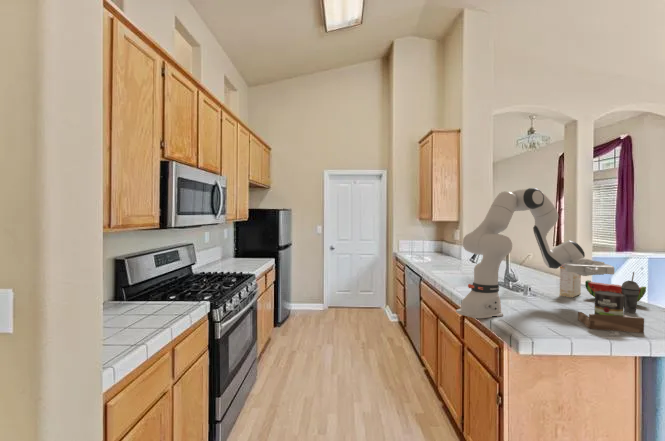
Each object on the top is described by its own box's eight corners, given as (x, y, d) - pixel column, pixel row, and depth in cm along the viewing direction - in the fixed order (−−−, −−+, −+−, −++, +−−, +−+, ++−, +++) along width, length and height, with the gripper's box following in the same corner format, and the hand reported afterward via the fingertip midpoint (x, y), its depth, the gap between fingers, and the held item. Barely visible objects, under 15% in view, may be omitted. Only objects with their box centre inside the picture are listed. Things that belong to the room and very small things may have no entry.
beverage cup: (619, 309, 186) (620, 270, 186) (637, 311, 183) (638, 271, 182) (621, 312, 180) (622, 272, 180) (640, 314, 176) (641, 273, 176)
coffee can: (621, 330, 153) (621, 297, 152) (591, 325, 160) (592, 293, 160) (625, 325, 160) (626, 293, 159) (596, 320, 167) (597, 289, 167)
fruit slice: (584, 298, 210) (585, 281, 209) (587, 296, 214) (587, 279, 214) (644, 307, 191) (645, 288, 191) (645, 304, 195) (646, 286, 195)
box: (578, 319, 168) (578, 306, 168) (626, 323, 163) (627, 309, 163) (590, 328, 155) (590, 314, 155) (643, 333, 150) (644, 318, 150)
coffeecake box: (567, 292, 226) (568, 260, 226) (581, 294, 221) (581, 262, 220) (558, 295, 217) (559, 262, 216) (572, 297, 211) (573, 264, 211)
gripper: (560, 259, 190) (570, 263, 176) (606, 262, 184) (620, 265, 171) (560, 271, 190) (569, 276, 176) (606, 274, 184) (619, 279, 171)
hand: (594, 270), depth 173 cm, fingers closed
